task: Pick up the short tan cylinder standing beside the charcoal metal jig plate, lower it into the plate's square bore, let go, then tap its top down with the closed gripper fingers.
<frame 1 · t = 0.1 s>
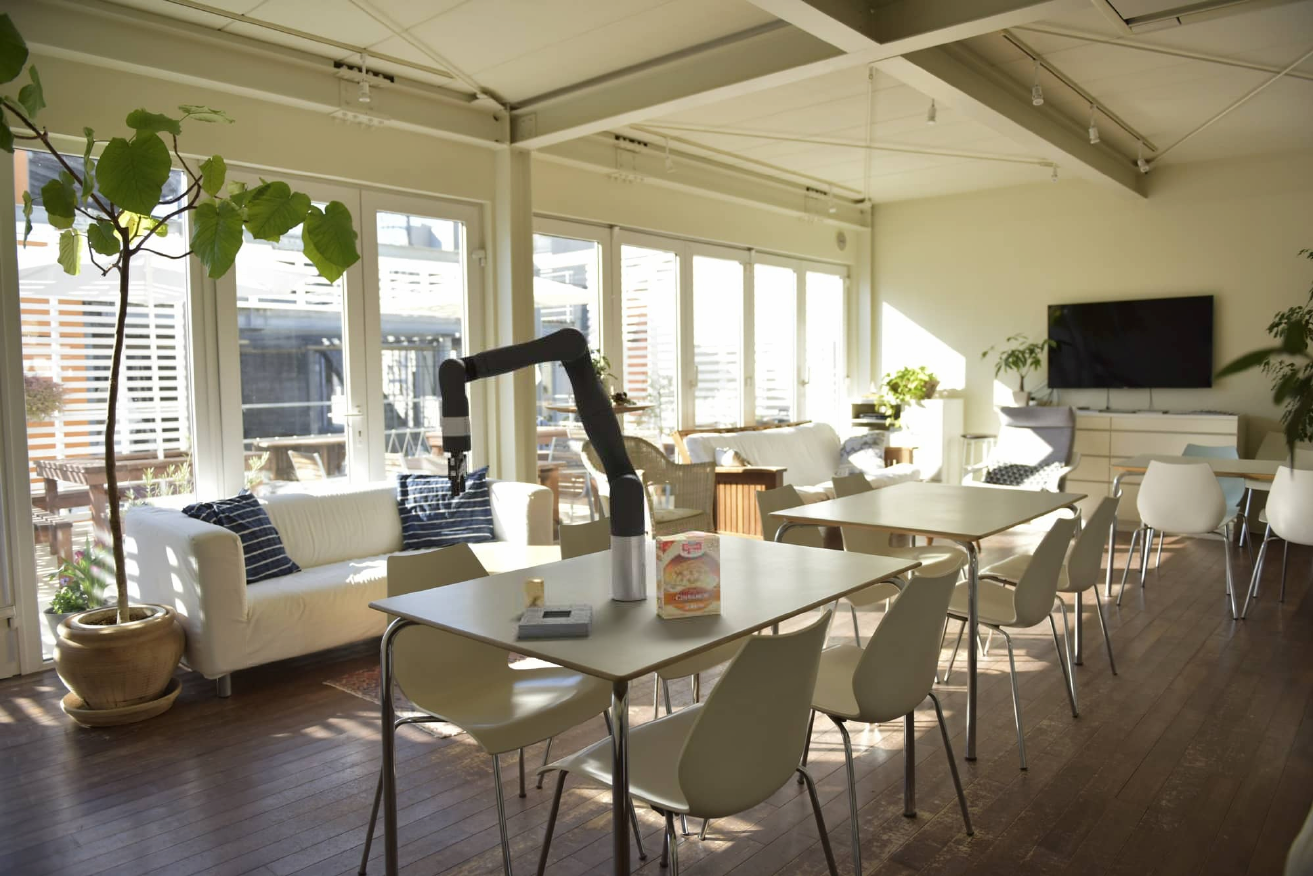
hand: (458, 494, 246), 29 cm above the table, fingers open, 8 cm apart
coffeecake box: (688, 614, 230), on the table
jig: (557, 626, 221), on the table
short tan cylinder: (535, 611, 236), on the table
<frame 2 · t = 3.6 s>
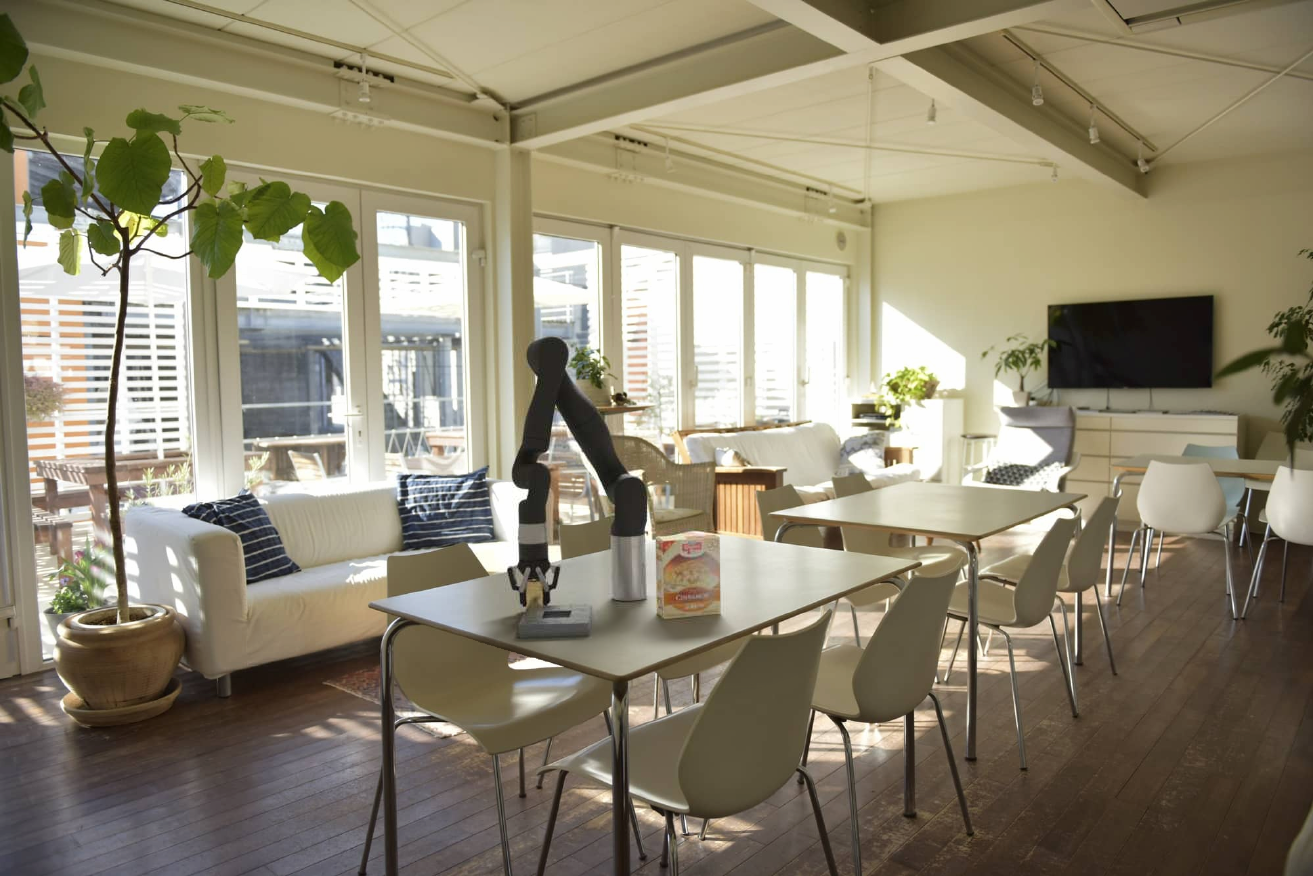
hand: (535, 605, 236), 1 cm above the table, fingers closed on short tan cylinder, 5 cm apart
short tan cylinder: (535, 611, 236), on the table, touching gripper
everything else where it was.
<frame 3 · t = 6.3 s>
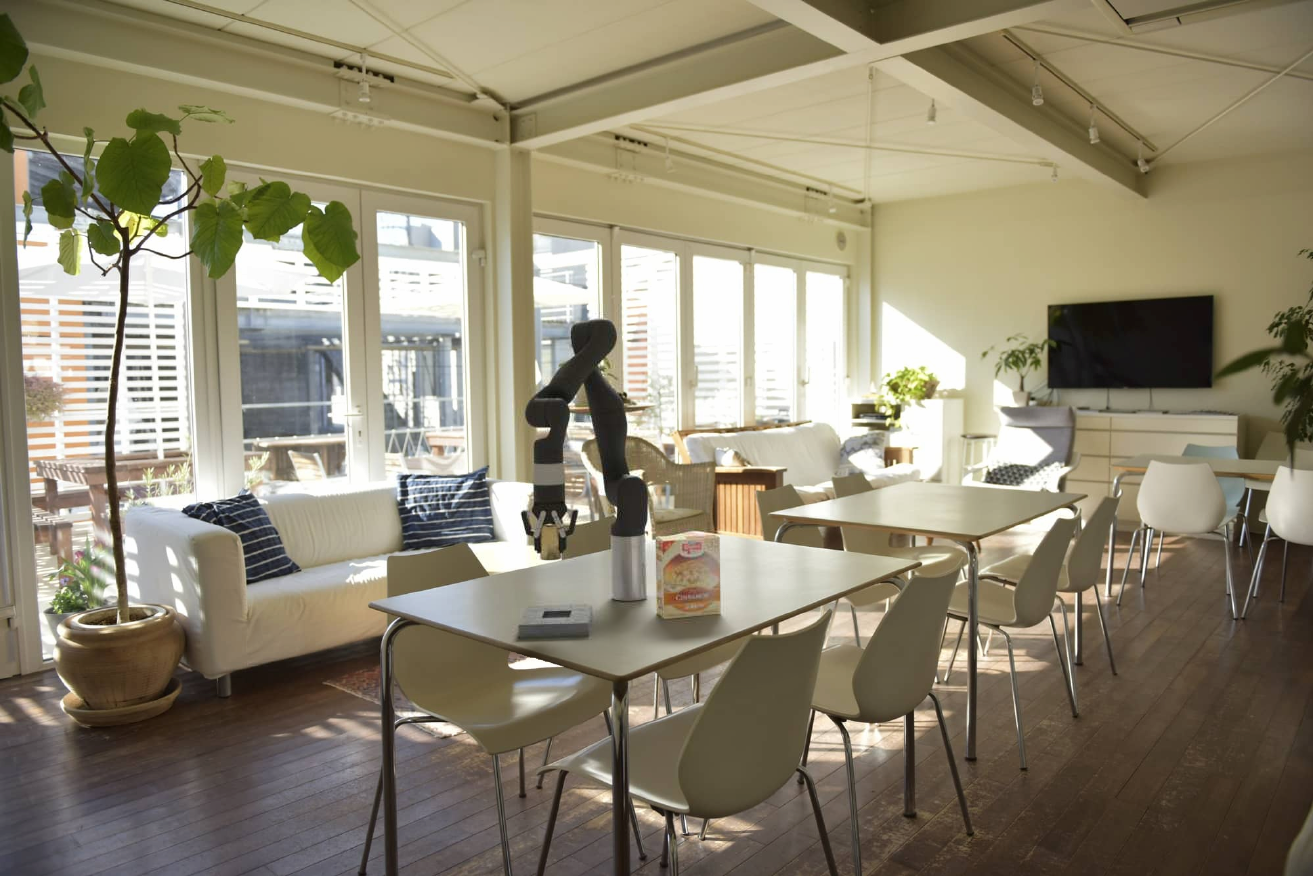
hand: (550, 552, 221), 18 cm above the table, fingers closed on short tan cylinder, 5 cm apart
short tan cylinder: (550, 558, 221), point 16 cm above the table, touching gripper
everything else where it was.
when the fingers open (6 cm above the table, at t = 9.1 s): short tan cylinder drops 4 cm, resting in jig.
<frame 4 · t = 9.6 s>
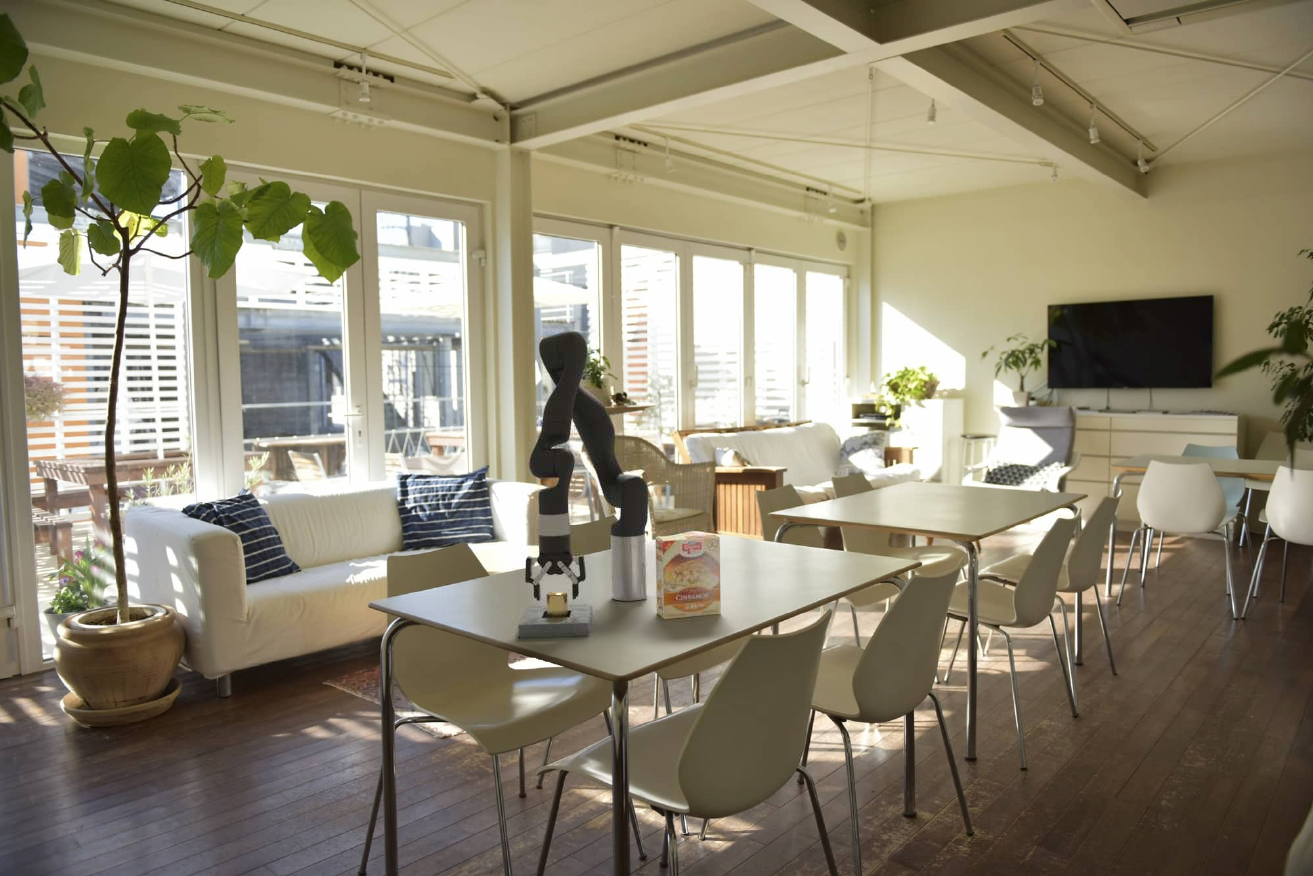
hand: (556, 599, 220), 7 cm above the table, fingers open, 8 cm apart
short tan cylinder: (557, 626, 221), resting in jig
everything else where it was.
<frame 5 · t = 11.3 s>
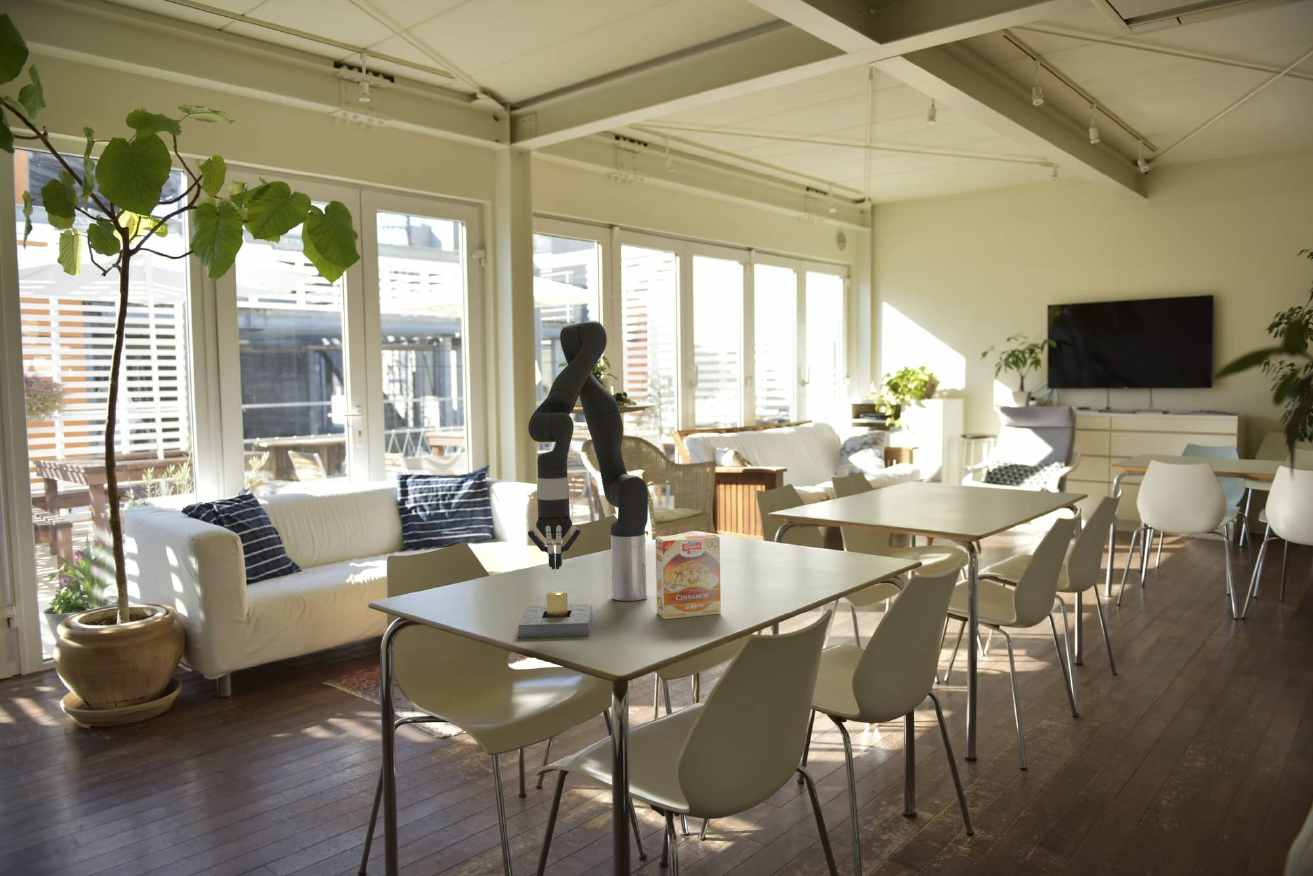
hand: (555, 568, 220), 14 cm above the table, fingers closed
nothing on the table moved.
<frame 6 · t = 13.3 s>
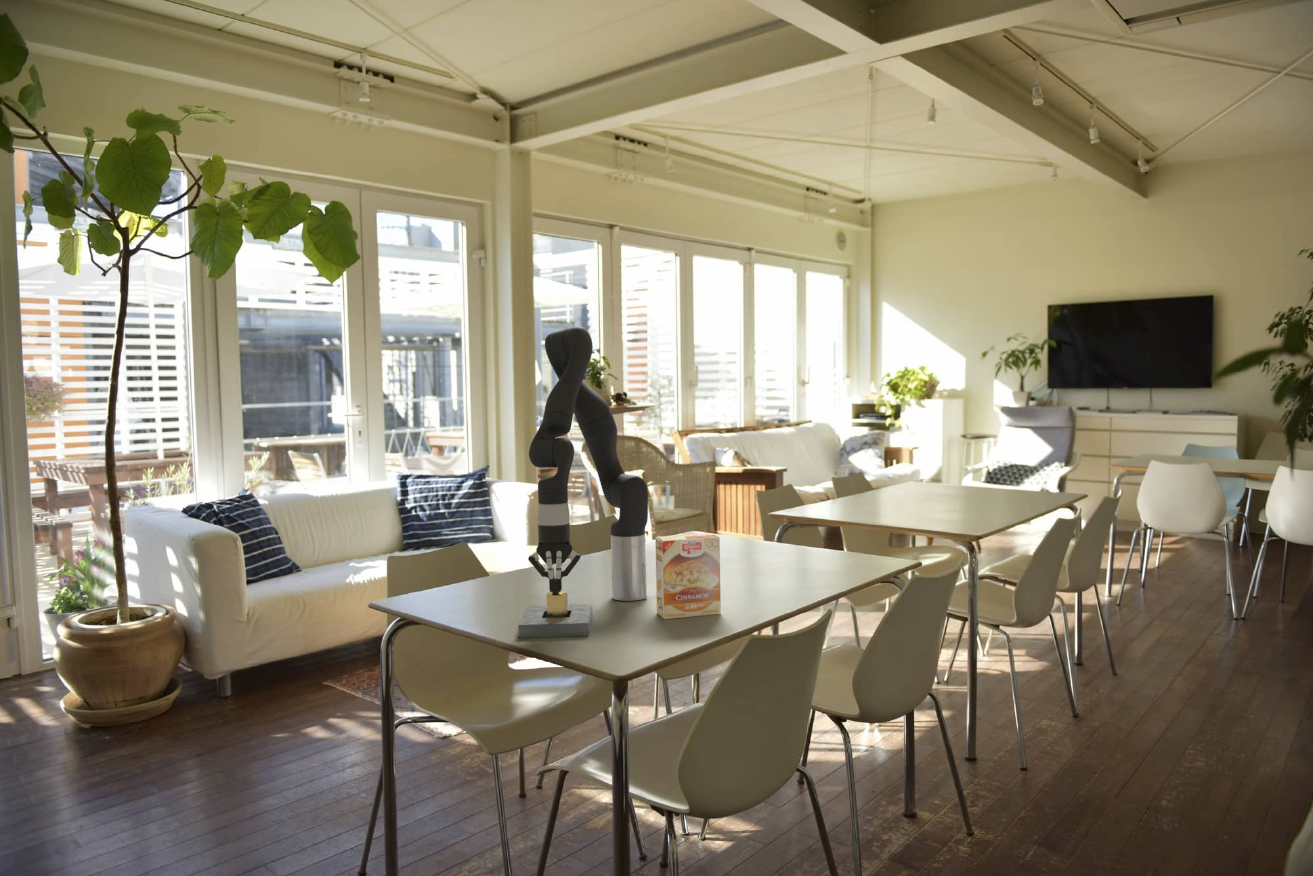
hand: (555, 593, 220), 8 cm above the table, fingers closed
short tan cylinder: (557, 626, 221), resting in jig, touching gripper
everything else where it was.
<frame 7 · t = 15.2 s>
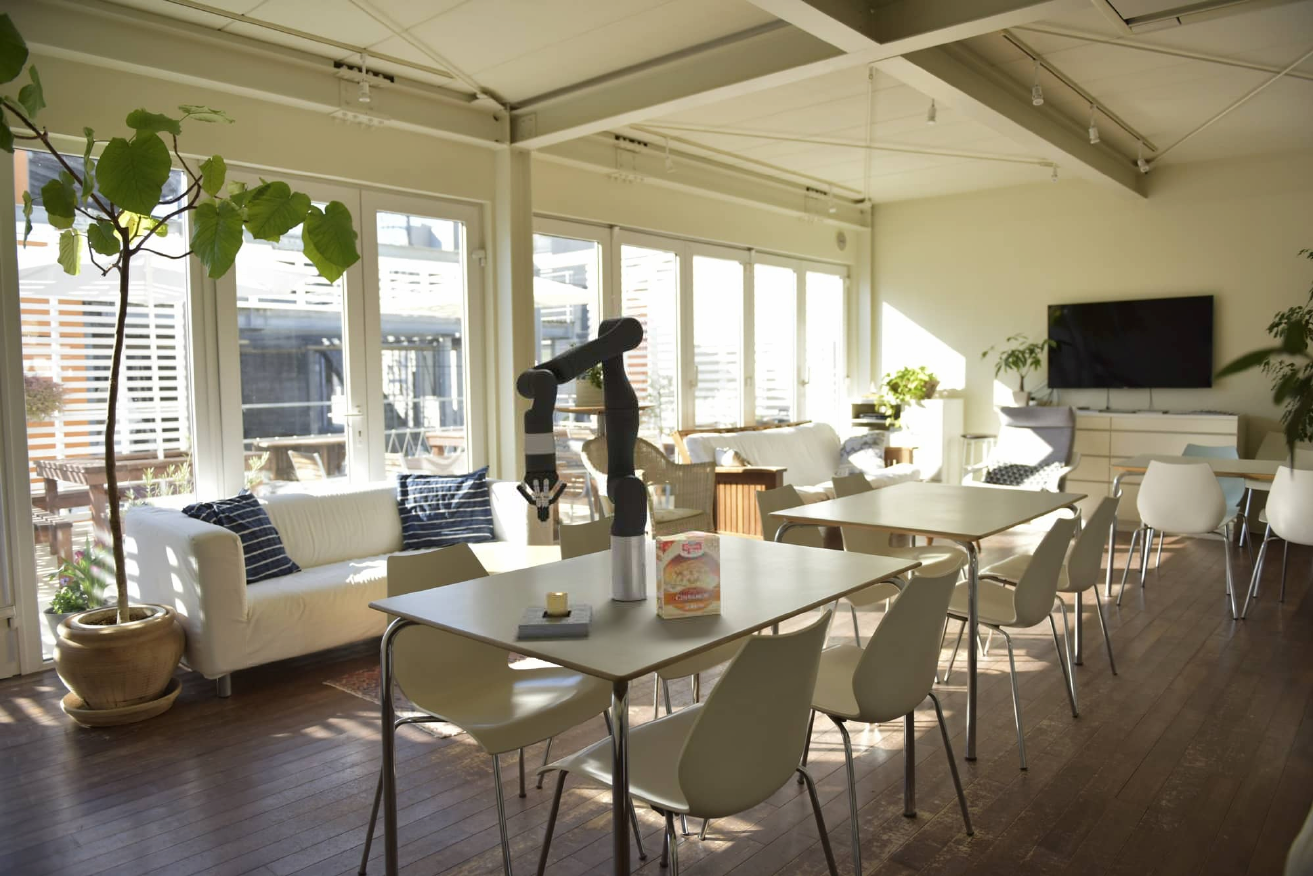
hand: (543, 521, 227), 24 cm above the table, fingers closed
short tan cylinder: (557, 626, 221), resting in jig
everything else where it was.
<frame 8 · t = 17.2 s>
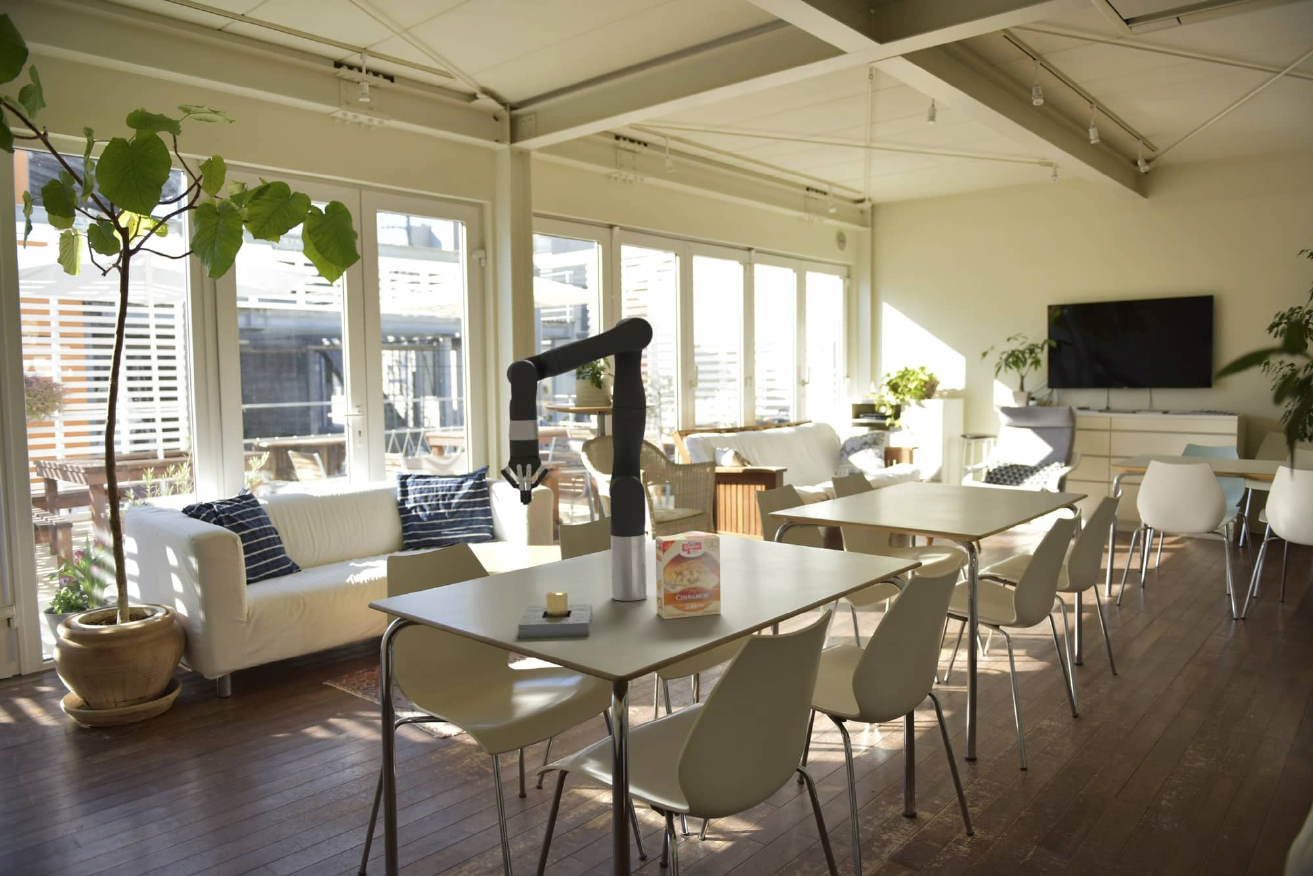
hand: (526, 504, 239), 27 cm above the table, fingers closed
nothing on the table moved.
at the end: short tan cylinder 0.1 cm off-centre on the jig, point 0.0 cm above the jig's base; short tan cylinder tilted 0°; the gripper is holding nothing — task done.
